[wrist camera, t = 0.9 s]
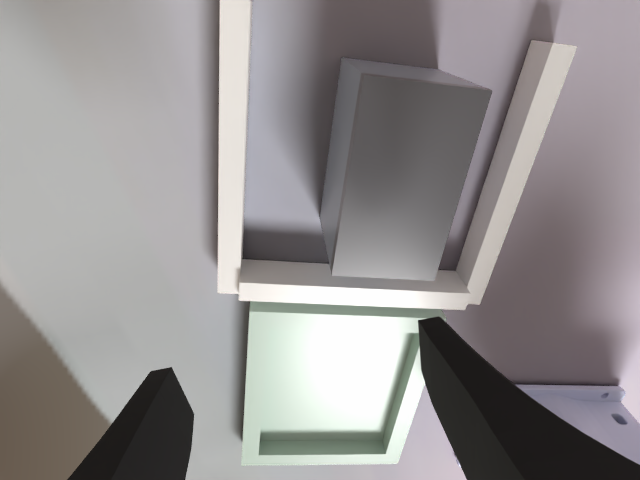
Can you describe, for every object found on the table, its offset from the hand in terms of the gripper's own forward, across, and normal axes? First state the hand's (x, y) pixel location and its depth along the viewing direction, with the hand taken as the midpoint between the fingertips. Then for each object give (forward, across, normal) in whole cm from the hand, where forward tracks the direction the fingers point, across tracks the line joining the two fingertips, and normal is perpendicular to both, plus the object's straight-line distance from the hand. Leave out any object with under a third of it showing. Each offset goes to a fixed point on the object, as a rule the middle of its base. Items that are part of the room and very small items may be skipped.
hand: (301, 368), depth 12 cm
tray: (+9, 0, +10) cm, 14 cm away
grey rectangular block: (+9, -4, -3) cm, 10 cm away
